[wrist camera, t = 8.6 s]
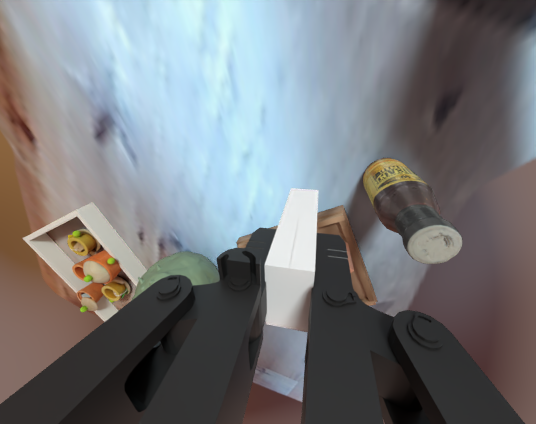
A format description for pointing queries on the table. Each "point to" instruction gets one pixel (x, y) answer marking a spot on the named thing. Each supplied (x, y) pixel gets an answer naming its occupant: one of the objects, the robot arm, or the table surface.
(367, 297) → the brown wooden tray
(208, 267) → the green monster figurine
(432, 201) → the sauce bottle
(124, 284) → the toy tea set
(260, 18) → the table surface
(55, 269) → the tea tray rim
